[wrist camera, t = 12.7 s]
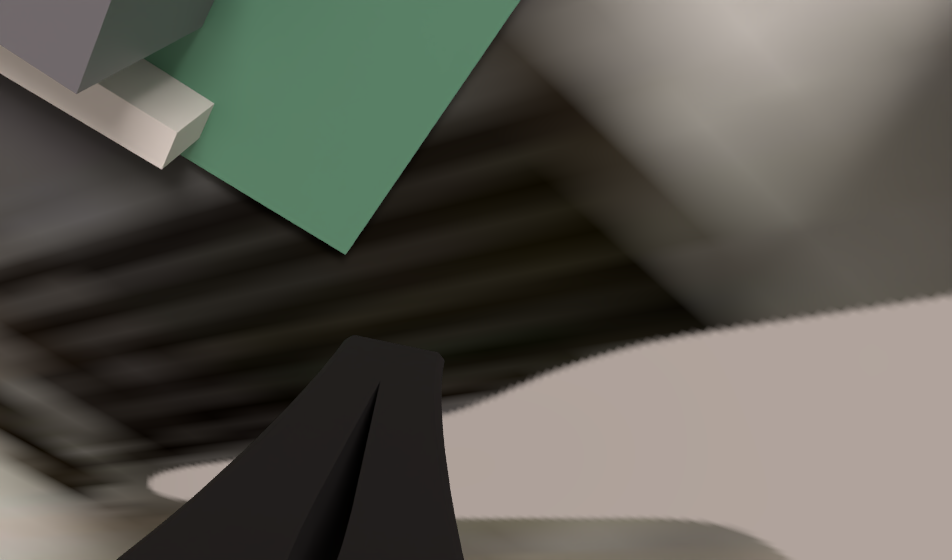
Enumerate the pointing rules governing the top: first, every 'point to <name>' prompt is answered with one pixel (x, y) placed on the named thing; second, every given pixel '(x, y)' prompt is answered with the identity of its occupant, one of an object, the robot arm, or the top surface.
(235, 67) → the board
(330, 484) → the robot arm
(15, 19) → the plug block
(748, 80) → the top surface
